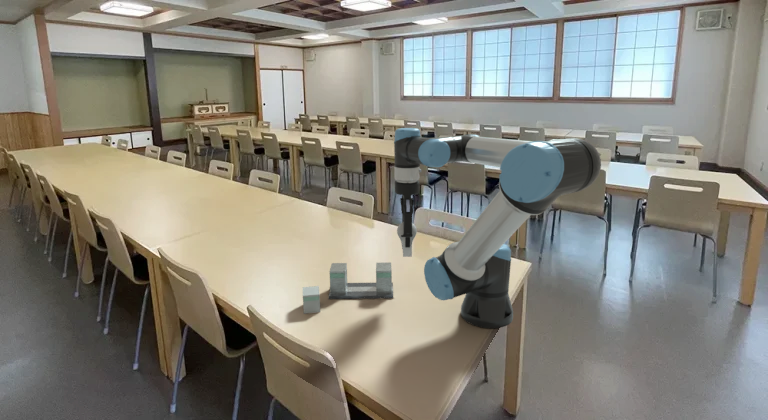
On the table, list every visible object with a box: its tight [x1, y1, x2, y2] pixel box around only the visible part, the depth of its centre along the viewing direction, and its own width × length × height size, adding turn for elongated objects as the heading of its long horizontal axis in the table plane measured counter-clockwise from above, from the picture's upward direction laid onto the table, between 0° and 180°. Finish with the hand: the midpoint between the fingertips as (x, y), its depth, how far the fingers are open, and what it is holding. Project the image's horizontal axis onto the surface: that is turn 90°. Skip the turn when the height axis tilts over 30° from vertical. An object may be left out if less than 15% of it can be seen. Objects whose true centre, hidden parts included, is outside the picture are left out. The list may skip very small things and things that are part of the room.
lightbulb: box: [396, 221, 418, 248], centre depth 139 cm, size 6×6×11 cm
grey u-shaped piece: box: [328, 261, 394, 300], centre depth 148 cm, size 10×21×9 cm, turn 90°
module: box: [302, 285, 321, 314], centre depth 137 cm, size 6×5×6 cm
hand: (406, 252), depth 140 cm, fingers closed on lightbulb, 6 cm apart
